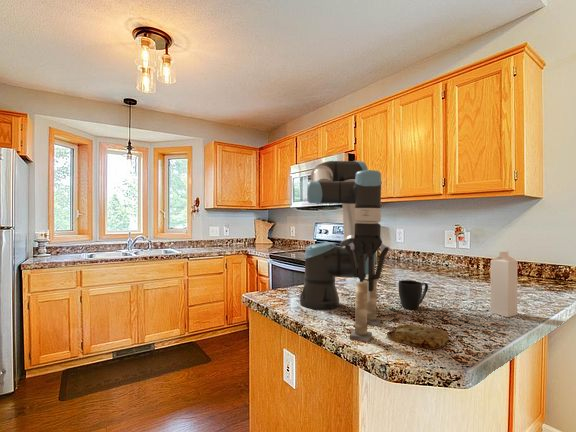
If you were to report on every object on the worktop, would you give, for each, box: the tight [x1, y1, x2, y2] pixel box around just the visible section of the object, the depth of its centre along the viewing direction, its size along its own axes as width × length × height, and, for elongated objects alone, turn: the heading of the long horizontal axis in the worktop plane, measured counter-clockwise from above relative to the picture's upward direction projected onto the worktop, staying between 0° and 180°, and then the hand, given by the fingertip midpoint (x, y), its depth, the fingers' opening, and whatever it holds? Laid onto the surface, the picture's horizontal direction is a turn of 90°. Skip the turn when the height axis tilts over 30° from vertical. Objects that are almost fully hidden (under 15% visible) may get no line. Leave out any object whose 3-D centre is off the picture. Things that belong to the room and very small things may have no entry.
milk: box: [489, 250, 519, 318], centre depth 110 cm, size 6×6×22 cm
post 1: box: [349, 281, 373, 343], centre depth 86 cm, size 5×5×15 cm
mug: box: [398, 279, 429, 311], centre depth 117 cm, size 8×12×10 cm
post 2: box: [365, 274, 381, 327], centre depth 99 cm, size 5×5×15 cm
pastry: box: [386, 323, 450, 350], centre depth 86 cm, size 17×17×3 cm
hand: (366, 301), depth 93 cm, fingers closed
